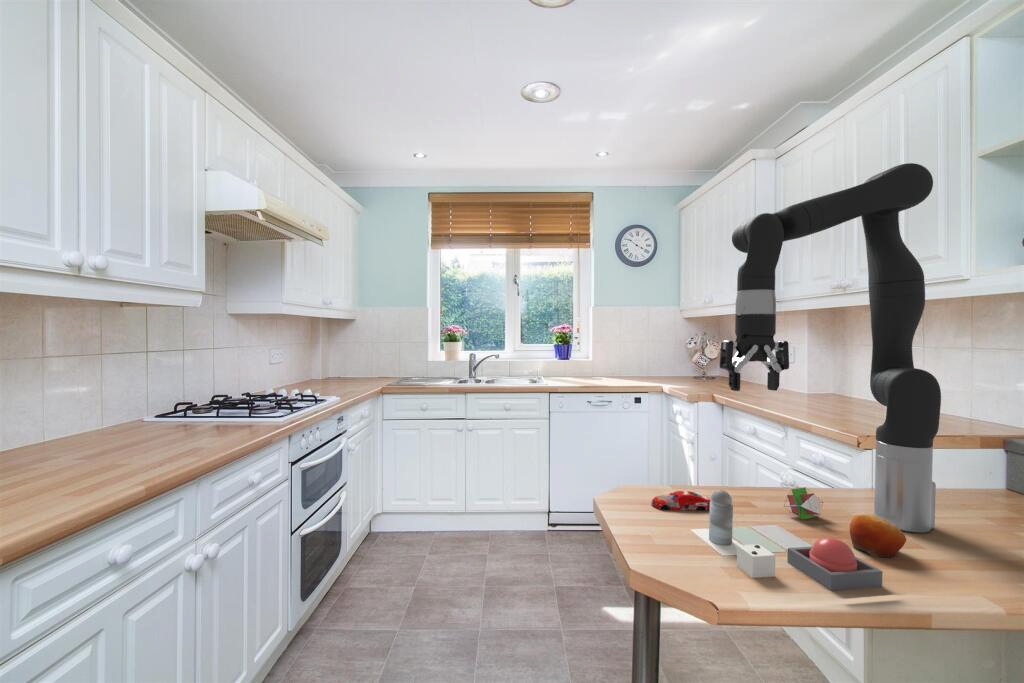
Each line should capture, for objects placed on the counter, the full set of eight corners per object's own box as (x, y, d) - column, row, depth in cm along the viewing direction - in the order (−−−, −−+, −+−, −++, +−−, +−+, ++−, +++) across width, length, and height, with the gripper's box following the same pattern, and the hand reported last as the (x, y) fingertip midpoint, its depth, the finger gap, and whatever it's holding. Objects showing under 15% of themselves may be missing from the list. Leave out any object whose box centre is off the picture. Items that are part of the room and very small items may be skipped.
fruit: (831, 541, 86) (847, 502, 87) (854, 557, 88) (869, 518, 90) (879, 561, 78) (895, 518, 80) (903, 577, 81) (918, 535, 82)
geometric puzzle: (770, 502, 104) (790, 480, 99) (792, 499, 106) (813, 477, 101) (793, 532, 98) (815, 510, 94) (816, 527, 101) (838, 506, 96)
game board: (775, 526, 96) (775, 523, 96) (822, 553, 84) (822, 550, 84) (687, 531, 93) (687, 528, 93) (723, 560, 81) (723, 556, 81)
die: (758, 567, 79) (758, 542, 79) (774, 579, 75) (775, 553, 75) (736, 568, 78) (737, 543, 78) (752, 581, 74) (752, 554, 74)
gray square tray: (833, 562, 81) (834, 545, 81) (882, 590, 72) (882, 571, 72) (787, 565, 79) (787, 548, 79) (830, 594, 71) (831, 575, 70)
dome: (833, 564, 79) (834, 529, 79) (867, 584, 73) (868, 546, 73) (799, 566, 78) (800, 531, 78) (831, 587, 72) (832, 548, 72)
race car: (654, 513, 103) (654, 496, 103) (648, 505, 108) (648, 488, 108) (715, 515, 102) (715, 497, 102) (706, 506, 107) (706, 489, 107)
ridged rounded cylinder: (723, 535, 90) (725, 486, 89) (736, 545, 86) (738, 493, 85) (704, 536, 89) (705, 487, 89) (716, 546, 85) (718, 494, 85)
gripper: (773, 314, 101) (772, 388, 101) (713, 313, 99) (712, 388, 99) (799, 312, 94) (798, 392, 94) (735, 311, 92) (733, 392, 92)
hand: (753, 390), depth 97 cm, fingers open, 8 cm apart
